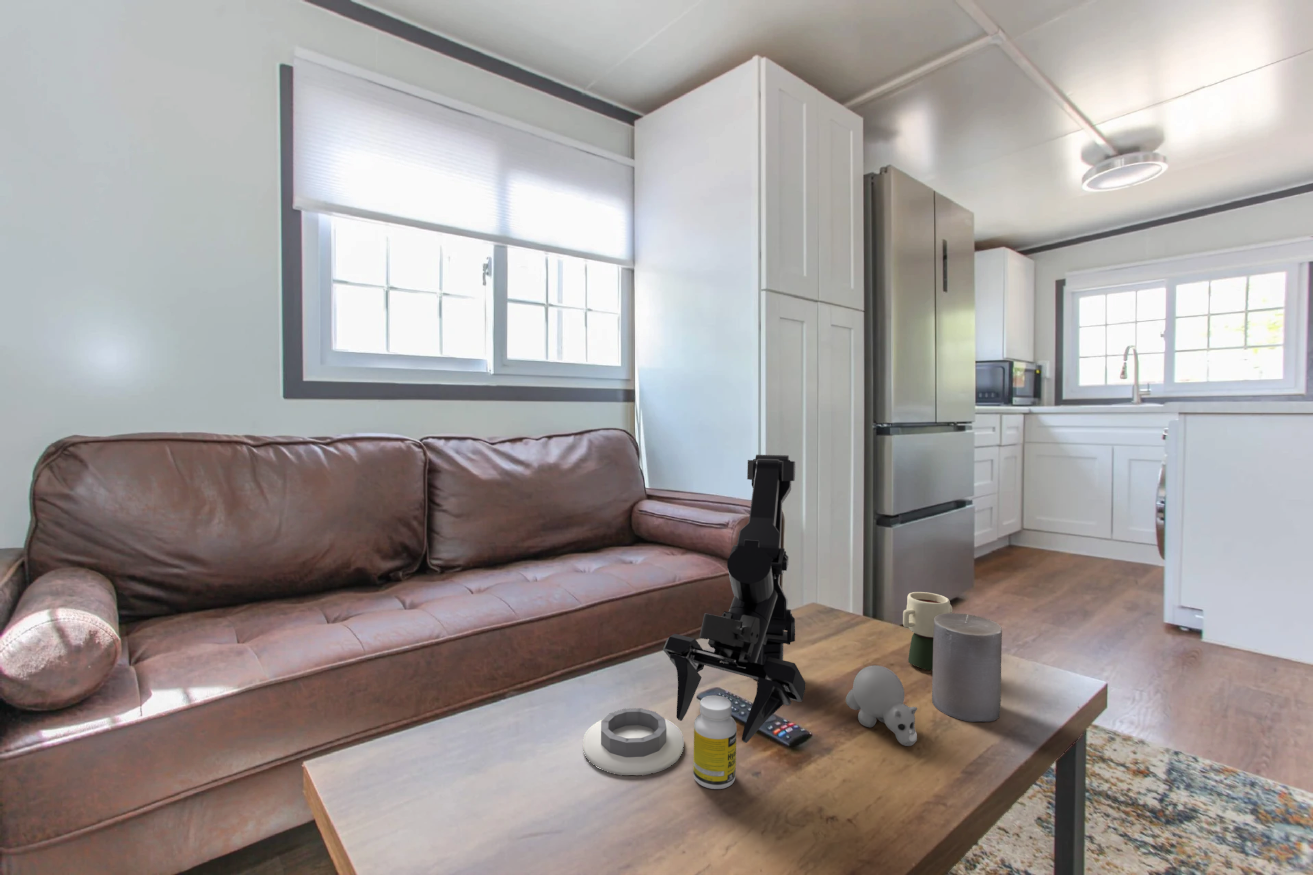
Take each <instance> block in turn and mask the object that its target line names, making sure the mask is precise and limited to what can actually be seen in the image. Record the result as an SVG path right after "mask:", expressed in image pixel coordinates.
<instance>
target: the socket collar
mask: <svg viewBox="0 0 1313 875" xmlns="http://www.w3.org/2000/svg"><path fill="white" fill-rule="evenodd" d="M582 739H583V740H582V751H584V752H583V754H584V753H585V755H586V757H585V759H586V758H587V759H588V760H589V761H590V762H591V763H592V764H594V765H595V766H597V767H599V768H601V769H603V770H604V771H603V772H605V771H608V772H611V773H615V774H620V775H619V776H622V775H642V776H648V775H652V774H651V773H653V774H656V773H659V772H662V771H664V770H666V769H669V768H670V767H672V766H673V765H674V764H676V763H677V762H678V761H679V760H680V758H681V757H680V756H682V755H683V753H684V748H685V747H684V746H685V745H684V735H683V733H682V730H681V728H679V727H678V726H677V725H676V724H675V723H673V722H672V721H670V720H669V719H667V718H664V717H663V716H662V715H661V714H659V713H657V711H653V710H649V709H646V708H642V707H637V708H636V707H635V708H634V707H632V708H631V707H629V708H628V707H627V708H622V709H618V710H616V711H615V710H614V711H613V712H610V713H608V714H607V715H606V716H605V717H604V718H603V719H600V720H598V721H597V722H595V723H594V724H592V725H591V726H589V728H588V729H587V730H586V731H585V733H584V735H583V738H582ZM683 747H684V748H683ZM682 752H683V753H682ZM681 754H682V755H681ZM585 755H584V756H585ZM587 759H586V760H587ZM588 760H587V761H588ZM589 761H588V762H589ZM590 762H589V763H590ZM591 763H590V764H591ZM592 764H591V765H592ZM671 765H672V766H671ZM595 766H594V767H595ZM608 772H607V773H608ZM611 773H610V774H611ZM615 774H614V775H615Z"/></svg>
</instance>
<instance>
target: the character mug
mask: <svg viewBox="0 0 1313 875" xmlns="http://www.w3.org/2000/svg"><path fill="white" fill-rule="evenodd" d="M906 599H907V601H906V609H904V610H903V612H902V625H903V627H904V628H908V630H909V631H911V633H912V635H911V639H910V644H909V650H908V660H907V661H908V664H911V665H913V666H915V667H918V668H919V669H923V670H927V671H932V672H933V633H934V618H935V616H937V615H939V614H945V613H953V606H952V605H951V602H950V599H949V598H948V597H946V596H944V595H941V594H939V593H933V592H926V591H925V592H924V591H913V592H909V593H908V594H907V597H906Z"/></svg>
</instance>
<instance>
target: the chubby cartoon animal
mask: <svg viewBox="0 0 1313 875" xmlns="http://www.w3.org/2000/svg"><path fill="white" fill-rule="evenodd" d="M852 684H853V685H852V689H851V690H849V691H848V693H847V695H846V697H845V703H846V705H847V706H848V708H850V709H851V710H854V711H858V715H857V719H858V721H859V723H860V724H861V725H862V726H864V727H866V728H873V727H874V726H875V725H876V723H877V720H878V721H879V722H881V723H883V724H885V726H886V727H887V729H888V730H890V731H891V732H893V734H894V735H895V738H896V739H897V740H896V741H897V742H898V743H899V744H900V745H902V746H905V747H911V746H913V745H914V744H915V743H916V742H917V741H918V738H917V737H918V735H917V733H918V732H917V731H916V728H915V727H916V726H915V724H916V717H915V713H916V712H917V710H918V708H917V707H916V706H908V705H907V704H905V703H904V701H905V689H904V686H903V683H902V681H901V680H900V678H899V677H898V675H897V674H896V673H895V672H894V671H893V670H891V669H889V668H888V667H885V666H883V665H868V666H865V667H864V668H861V670H860V671H859V672H858V673H857V674H856V676H855V677H854V680H853V683H852Z"/></svg>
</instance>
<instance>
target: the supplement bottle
mask: <svg viewBox="0 0 1313 875" xmlns="http://www.w3.org/2000/svg"><path fill="white" fill-rule="evenodd" d="M732 707H733V704H732V702H731V700H730V699H728V698H727V697H725V696H722V695H715V694H713V695H706V696H703V698H700V702H699V714H698V715H697V716H696V718H695V719H694V722H693V724H694V726H693V762H692V766H693V767H692V768H693V769H692V770H693V772H692V773H693V774H692V775H693V779H694V780H695V782H696V783H698V784H699V785H700V786H702V787H704V788H707V789H711V790H721V789H722V790H723V789H726V788H729V787H730V786H731V785H733V783H734V782H735V780H736V773H737V772H736V767H737V730H738V729H737V723H736V720H735V719H734V718H733V717H732V713H733V712H732Z"/></svg>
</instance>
